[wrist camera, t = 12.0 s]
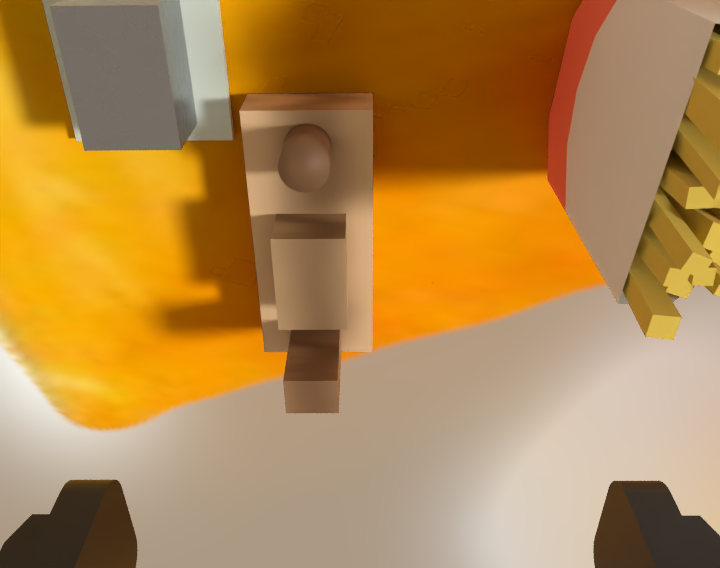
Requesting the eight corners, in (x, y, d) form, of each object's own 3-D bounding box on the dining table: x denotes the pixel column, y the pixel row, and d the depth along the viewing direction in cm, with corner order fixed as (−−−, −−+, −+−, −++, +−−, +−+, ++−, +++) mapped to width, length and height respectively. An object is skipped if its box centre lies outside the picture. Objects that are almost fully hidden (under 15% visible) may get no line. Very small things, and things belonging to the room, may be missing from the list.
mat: (80, 137, 39) (76, 141, 39) (39, -33, 34) (34, -31, 34) (234, 136, 39) (232, 140, 38) (215, -34, 34) (213, -32, 34)
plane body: (270, 324, 46) (251, 416, 39) (247, 93, 38) (218, 153, 30) (371, 324, 46) (373, 416, 39) (372, 92, 38) (374, 152, 30)
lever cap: (109, 124, 38) (84, 150, 35) (80, -9, 34) (49, 6, 31) (197, 123, 38) (181, 149, 35) (178, -10, 34) (157, 5, 31)
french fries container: (672, -31, 34) (919, 60, 19) (612, 168, 40) (764, 359, 25) (584, -39, 34) (761, 46, 19) (536, 162, 40) (643, 351, 25)
